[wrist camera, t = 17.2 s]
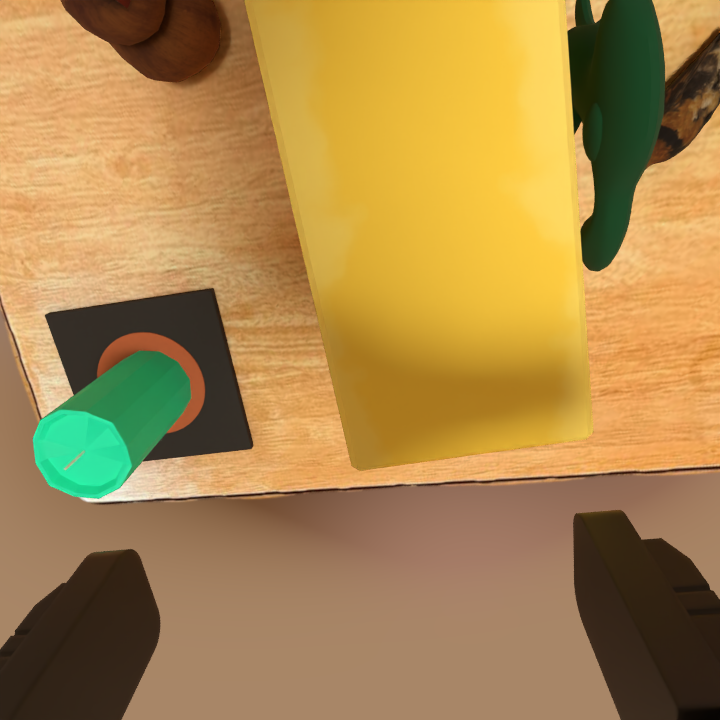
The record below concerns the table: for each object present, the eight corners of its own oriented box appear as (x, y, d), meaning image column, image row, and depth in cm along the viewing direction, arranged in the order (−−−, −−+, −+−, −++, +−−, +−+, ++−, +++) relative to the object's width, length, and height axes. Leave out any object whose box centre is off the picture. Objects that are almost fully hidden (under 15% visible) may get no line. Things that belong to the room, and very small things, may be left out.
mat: (49, 312, 42) (43, 315, 41) (213, 288, 40) (210, 290, 40) (103, 462, 46) (98, 467, 45) (253, 445, 44) (251, 449, 44)
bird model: (590, 166, 36) (604, 167, 33) (768, -29, 31) (799, -46, 29) (625, 199, 36) (641, 201, 34) (804, 10, 32) (838, -2, 30)
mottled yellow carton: (555, 263, 38) (785, 415, 15) (378, 295, 40) (352, 475, 17) (532, -31, 32) (838, -465, 10) (326, 19, 34) (183, -254, 11)
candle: (158, 435, 44) (76, 531, 33) (99, 383, 43) (-8, 464, 31) (207, 389, 42) (138, 473, 31) (147, 333, 41) (52, 400, 30)
